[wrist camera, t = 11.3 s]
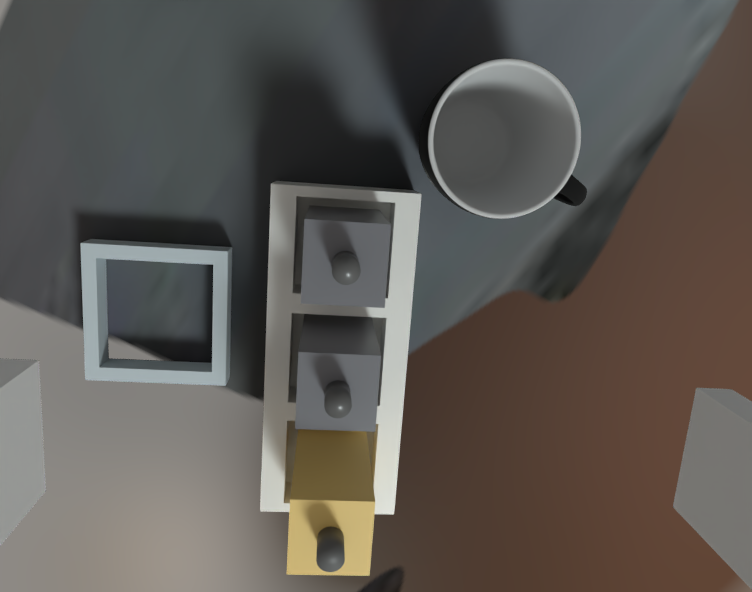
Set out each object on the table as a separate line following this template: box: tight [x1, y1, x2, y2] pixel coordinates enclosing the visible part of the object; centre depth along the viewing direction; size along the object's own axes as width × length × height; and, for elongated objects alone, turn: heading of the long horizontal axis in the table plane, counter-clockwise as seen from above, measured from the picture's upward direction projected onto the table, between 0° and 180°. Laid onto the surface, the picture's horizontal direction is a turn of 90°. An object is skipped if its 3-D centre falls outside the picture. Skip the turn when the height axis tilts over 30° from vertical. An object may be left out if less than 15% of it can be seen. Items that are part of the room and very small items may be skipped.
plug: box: [287, 429, 375, 576], centre depth 42 cm, size 5×5×14 cm
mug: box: [419, 58, 587, 219], centre depth 41 cm, size 12×9×10 cm
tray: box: [80, 239, 232, 386], centre depth 46 cm, size 10×10×2 cm
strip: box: [260, 181, 421, 514], centre depth 42 cm, size 24×10×12 cm, turn 176°
